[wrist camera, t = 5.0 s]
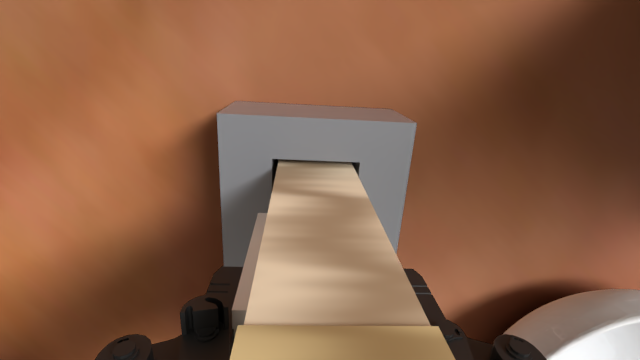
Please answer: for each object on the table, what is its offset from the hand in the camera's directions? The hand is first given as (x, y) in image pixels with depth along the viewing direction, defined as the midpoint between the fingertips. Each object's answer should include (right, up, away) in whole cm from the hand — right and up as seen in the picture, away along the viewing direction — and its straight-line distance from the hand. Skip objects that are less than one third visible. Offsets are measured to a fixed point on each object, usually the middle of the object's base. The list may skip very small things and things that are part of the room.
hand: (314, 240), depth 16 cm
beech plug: (0, +2, +6) cm, 6 cm away
